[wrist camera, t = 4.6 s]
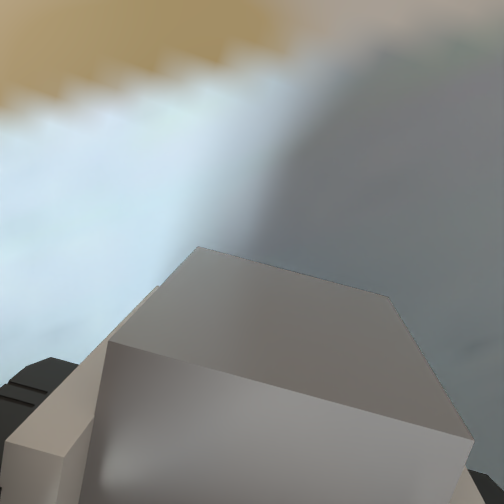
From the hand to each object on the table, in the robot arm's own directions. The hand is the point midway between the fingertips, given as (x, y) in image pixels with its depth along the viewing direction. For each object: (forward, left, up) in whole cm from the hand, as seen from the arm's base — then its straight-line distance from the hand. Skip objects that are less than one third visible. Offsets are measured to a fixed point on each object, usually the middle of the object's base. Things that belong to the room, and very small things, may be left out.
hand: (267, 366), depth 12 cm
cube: (0, 0, 0) cm, 0 cm away
